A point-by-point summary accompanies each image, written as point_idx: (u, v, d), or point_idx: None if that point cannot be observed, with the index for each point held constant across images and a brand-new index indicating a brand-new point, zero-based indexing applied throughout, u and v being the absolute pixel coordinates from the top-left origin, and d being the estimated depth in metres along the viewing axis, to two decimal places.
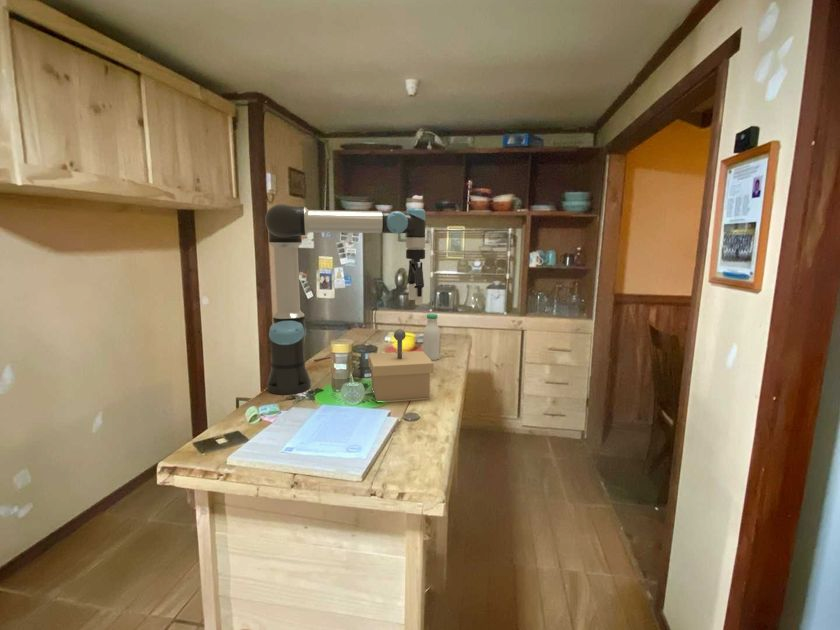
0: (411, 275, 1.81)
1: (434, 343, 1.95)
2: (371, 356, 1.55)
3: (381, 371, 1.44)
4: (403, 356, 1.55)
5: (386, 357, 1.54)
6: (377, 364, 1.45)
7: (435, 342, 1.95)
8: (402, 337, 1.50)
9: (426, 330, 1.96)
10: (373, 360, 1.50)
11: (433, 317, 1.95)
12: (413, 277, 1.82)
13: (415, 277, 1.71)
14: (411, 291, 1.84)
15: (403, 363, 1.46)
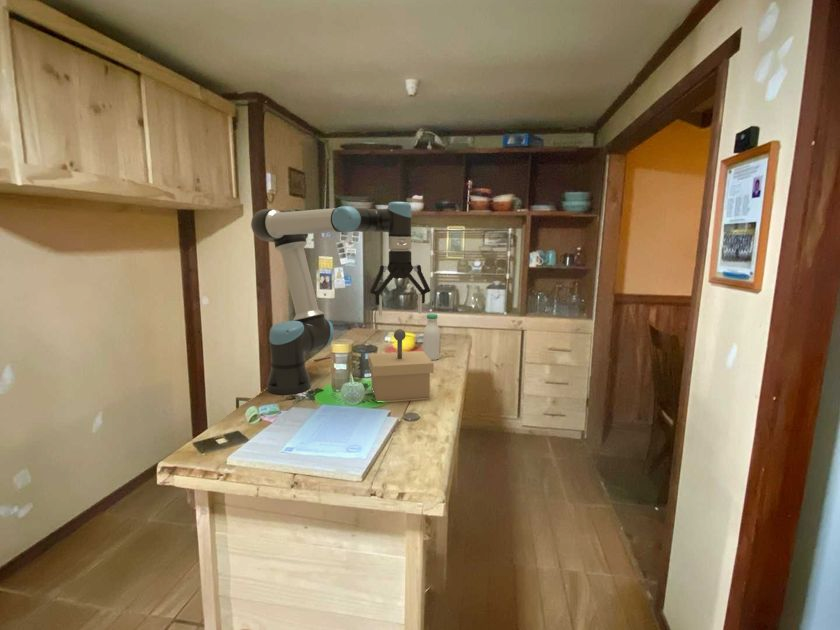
0: (412, 282, 1.50)
1: (434, 343, 1.95)
2: (371, 356, 1.55)
3: (381, 371, 1.44)
4: (403, 356, 1.55)
5: (386, 357, 1.54)
6: (377, 364, 1.45)
7: (435, 342, 1.95)
8: (402, 337, 1.50)
9: (426, 330, 1.96)
10: (373, 360, 1.50)
11: (433, 317, 1.95)
12: (415, 285, 1.49)
13: None
14: (418, 302, 1.51)
15: (403, 363, 1.46)
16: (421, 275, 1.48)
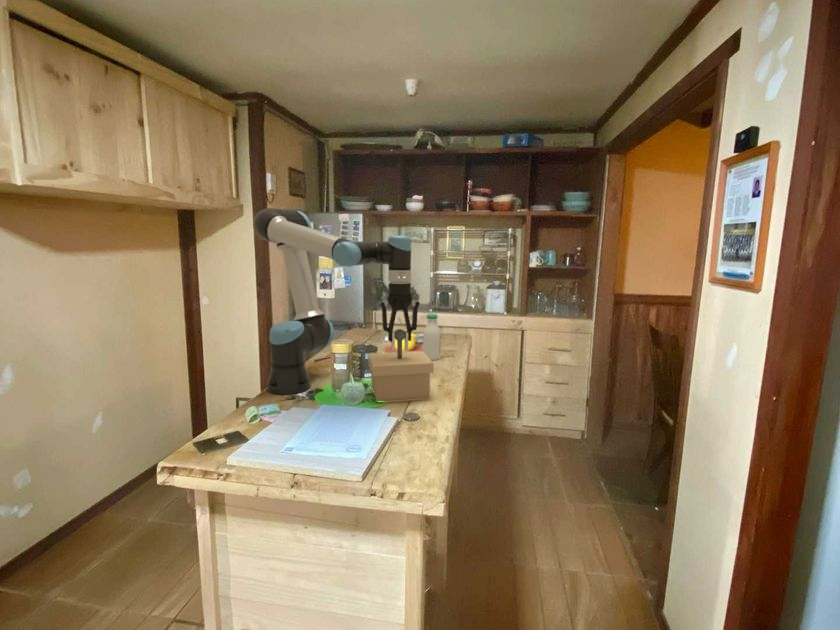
0: (404, 316, 1.51)
1: (434, 343, 1.95)
2: (371, 356, 1.55)
3: (381, 371, 1.44)
4: (403, 356, 1.55)
5: (386, 357, 1.54)
6: (377, 364, 1.45)
7: (435, 342, 1.95)
8: (402, 337, 1.50)
9: (426, 330, 1.96)
10: (373, 360, 1.50)
11: (433, 317, 1.95)
12: (405, 320, 1.51)
13: (390, 318, 1.51)
14: (405, 340, 1.53)
15: (403, 363, 1.46)
16: (415, 311, 1.50)
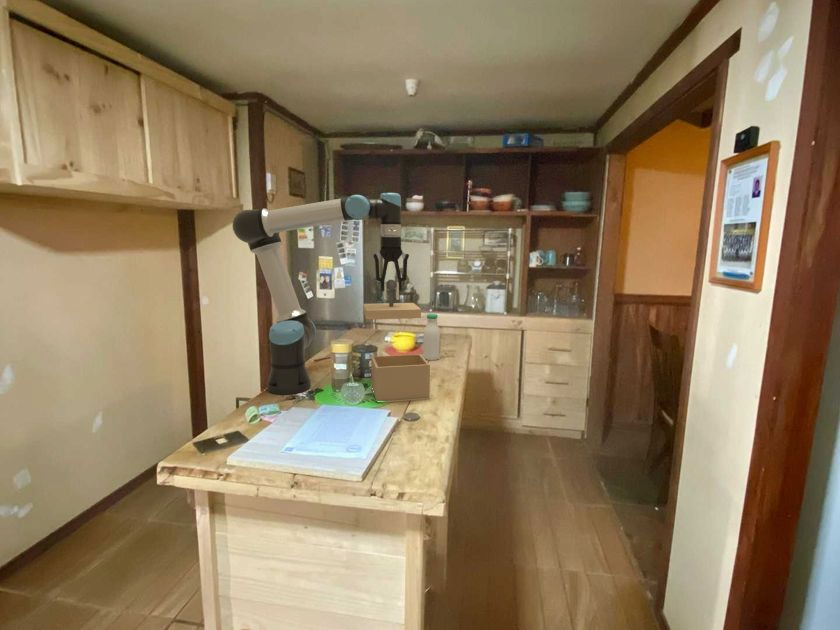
0: (395, 268, 1.67)
1: (434, 343, 1.95)
2: (365, 305, 1.71)
3: (373, 315, 1.60)
4: (394, 305, 1.71)
5: (379, 305, 1.70)
6: (370, 309, 1.61)
7: (435, 342, 1.95)
8: (393, 286, 1.66)
9: (426, 330, 1.96)
10: (367, 307, 1.66)
11: (433, 317, 1.95)
12: (396, 271, 1.66)
13: None
14: (396, 289, 1.68)
15: (393, 309, 1.62)
16: (405, 263, 1.66)
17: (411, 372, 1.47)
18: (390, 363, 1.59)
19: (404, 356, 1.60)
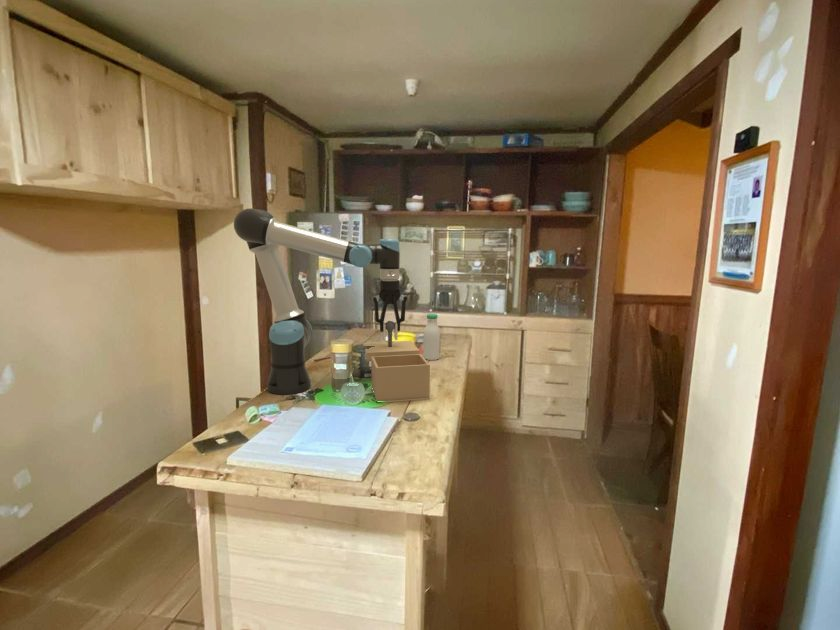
0: (394, 309, 1.73)
1: (434, 343, 1.95)
2: (365, 344, 1.76)
3: None
4: (393, 345, 1.77)
5: (378, 345, 1.75)
6: (370, 351, 1.67)
7: (435, 342, 1.95)
8: (392, 328, 1.71)
9: (426, 330, 1.96)
10: None
11: (433, 317, 1.95)
12: (395, 313, 1.72)
13: None
14: (394, 330, 1.74)
15: (393, 350, 1.68)
16: (403, 305, 1.71)
17: (411, 372, 1.47)
18: (390, 363, 1.59)
19: (404, 356, 1.60)
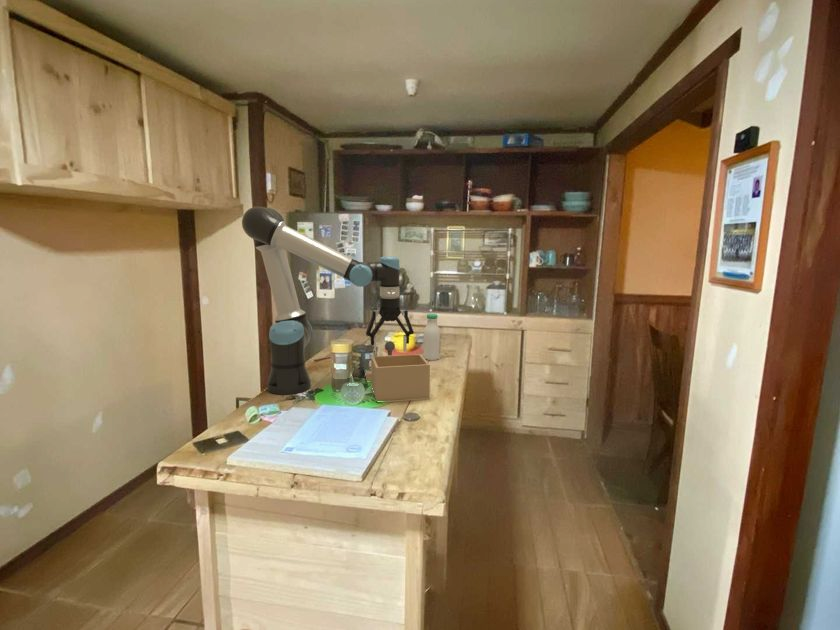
0: (399, 324, 1.74)
1: (434, 343, 1.95)
2: None
3: None
4: None
5: None
6: (370, 372, 1.68)
7: (435, 342, 1.95)
8: (392, 348, 1.73)
9: (426, 330, 1.96)
10: None
11: (433, 317, 1.95)
12: (401, 327, 1.74)
13: (376, 325, 1.73)
14: (403, 342, 1.76)
15: None
16: (407, 319, 1.73)
17: (411, 372, 1.47)
18: (390, 363, 1.59)
19: (404, 356, 1.60)
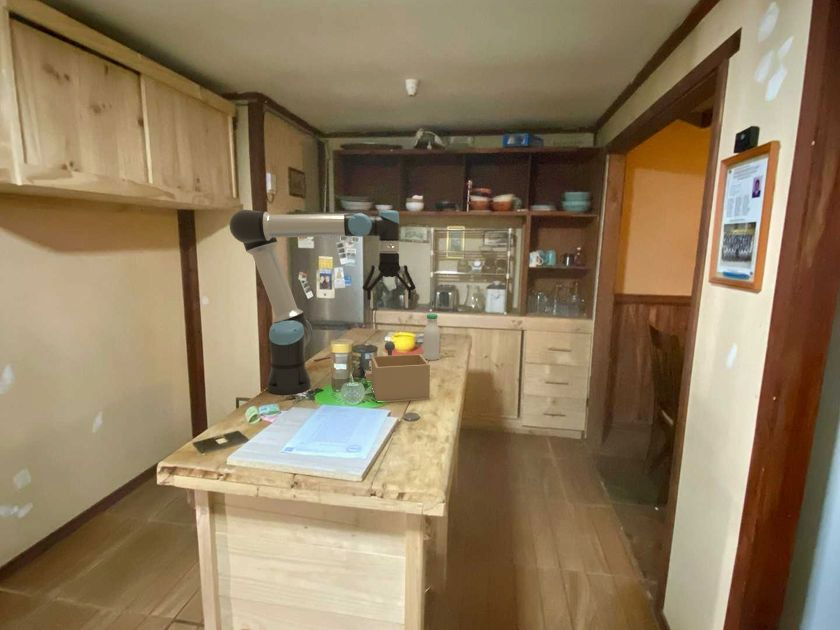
0: (399, 280, 1.71)
1: (434, 343, 1.95)
2: None
3: None
4: None
5: None
6: (370, 372, 1.68)
7: (435, 342, 1.95)
8: (392, 348, 1.73)
9: (426, 330, 1.96)
10: None
11: (433, 317, 1.95)
12: (402, 283, 1.71)
13: None
14: (405, 298, 1.73)
15: None
16: (407, 274, 1.70)
17: (411, 372, 1.47)
18: (390, 363, 1.59)
19: (404, 356, 1.60)
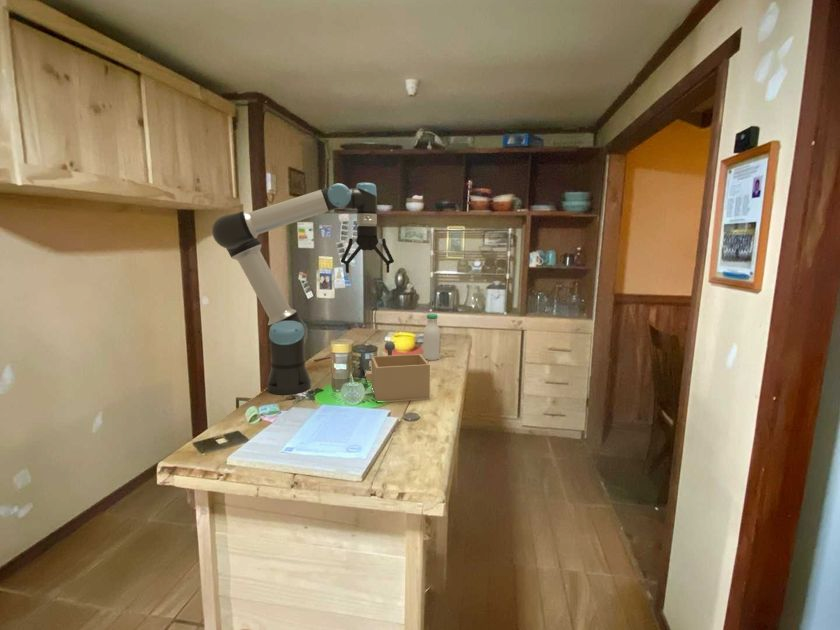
0: (378, 254, 1.72)
1: (434, 343, 1.95)
2: None
3: None
4: None
5: None
6: (370, 372, 1.68)
7: (435, 342, 1.95)
8: (392, 348, 1.73)
9: (426, 330, 1.96)
10: None
11: (433, 317, 1.95)
12: (380, 256, 1.71)
13: None
14: (384, 272, 1.73)
15: None
16: (385, 247, 1.70)
17: (411, 372, 1.47)
18: (390, 363, 1.59)
19: (404, 356, 1.60)
